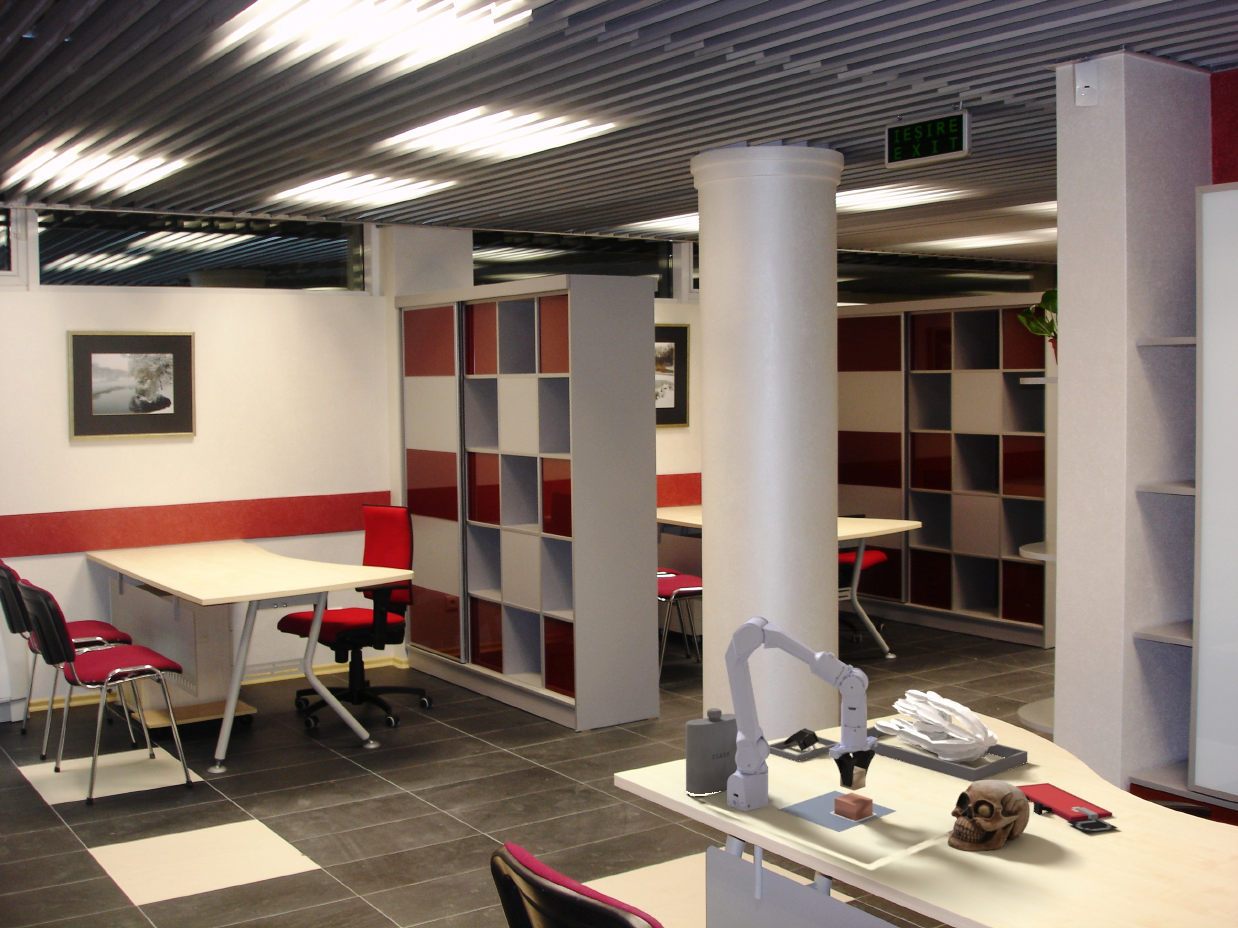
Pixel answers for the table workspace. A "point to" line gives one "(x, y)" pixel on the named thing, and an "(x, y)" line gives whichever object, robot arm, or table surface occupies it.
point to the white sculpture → (940, 727)
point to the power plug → (804, 739)
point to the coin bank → (988, 816)
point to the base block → (853, 806)
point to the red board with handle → (1067, 806)
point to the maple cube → (856, 779)
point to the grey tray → (1010, 761)
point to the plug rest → (830, 744)
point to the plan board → (830, 812)
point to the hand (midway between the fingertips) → (853, 783)
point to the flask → (710, 752)
